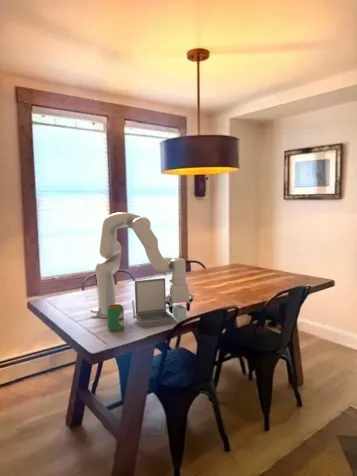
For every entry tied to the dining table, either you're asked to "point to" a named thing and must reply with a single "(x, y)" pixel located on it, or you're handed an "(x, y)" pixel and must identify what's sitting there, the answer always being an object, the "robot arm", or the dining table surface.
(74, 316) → the dining table surface
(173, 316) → the mat
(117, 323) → the beverage can
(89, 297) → the dining table surface
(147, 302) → the equipment case
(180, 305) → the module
